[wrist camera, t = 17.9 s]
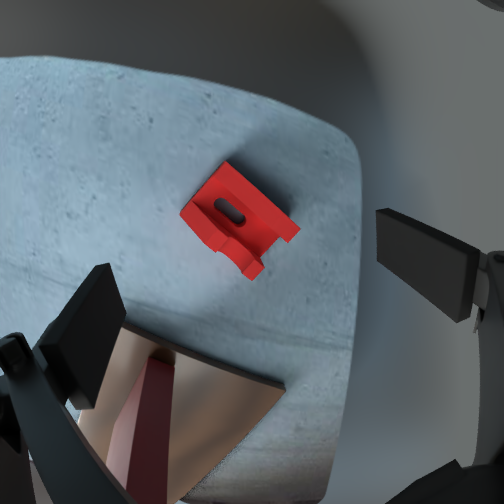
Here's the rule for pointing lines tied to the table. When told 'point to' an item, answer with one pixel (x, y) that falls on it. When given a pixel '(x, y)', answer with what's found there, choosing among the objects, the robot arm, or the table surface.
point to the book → (144, 435)
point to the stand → (182, 405)
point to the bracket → (229, 233)
